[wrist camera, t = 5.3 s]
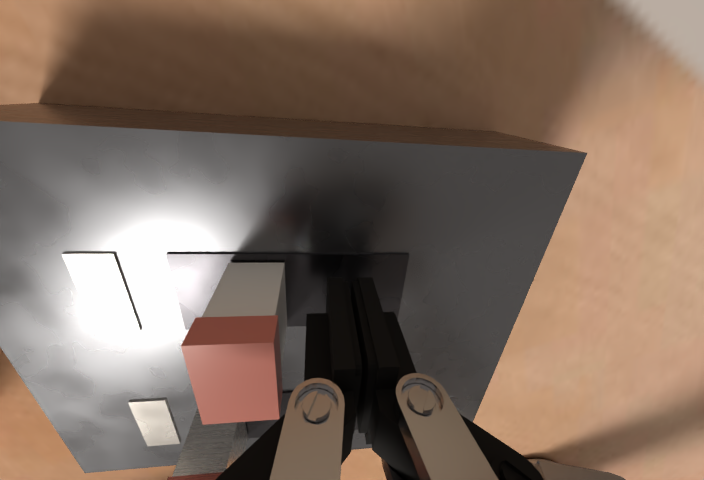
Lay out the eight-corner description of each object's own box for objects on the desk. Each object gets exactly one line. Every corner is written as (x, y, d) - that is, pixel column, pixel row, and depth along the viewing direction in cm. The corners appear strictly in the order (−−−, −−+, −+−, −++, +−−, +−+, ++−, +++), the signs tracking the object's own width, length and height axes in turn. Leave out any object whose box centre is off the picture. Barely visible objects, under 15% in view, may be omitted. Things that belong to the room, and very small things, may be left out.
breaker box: (495, 131, 16) (736, 187, 7) (431, 362, 24) (502, 526, 15) (37, 103, 13) (-611, 134, 4) (142, 376, 21) (13, 591, 12)
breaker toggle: (287, 260, 11) (273, 342, 7) (289, 324, 12) (279, 419, 9) (225, 260, 11) (180, 346, 7) (235, 326, 12) (202, 424, 8)
